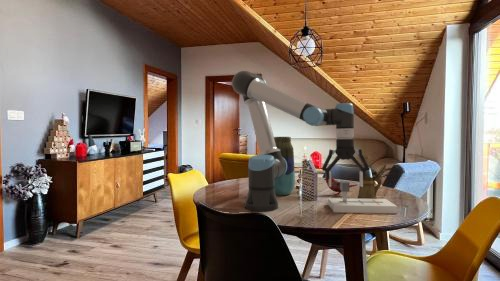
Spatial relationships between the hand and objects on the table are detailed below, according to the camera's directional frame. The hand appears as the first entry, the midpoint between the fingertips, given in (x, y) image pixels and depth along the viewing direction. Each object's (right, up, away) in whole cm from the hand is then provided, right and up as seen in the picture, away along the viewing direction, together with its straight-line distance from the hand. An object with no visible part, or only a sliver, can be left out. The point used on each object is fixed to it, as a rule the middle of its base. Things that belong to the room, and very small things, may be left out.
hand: (345, 186), depth 141 cm
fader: (0, -7, 0) cm, 7 cm away
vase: (-25, -9, +34) cm, 43 cm away
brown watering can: (+18, -9, +17) cm, 27 cm away
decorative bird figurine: (+6, -9, +29) cm, 31 cm away
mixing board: (+7, -10, 0) cm, 12 cm away
